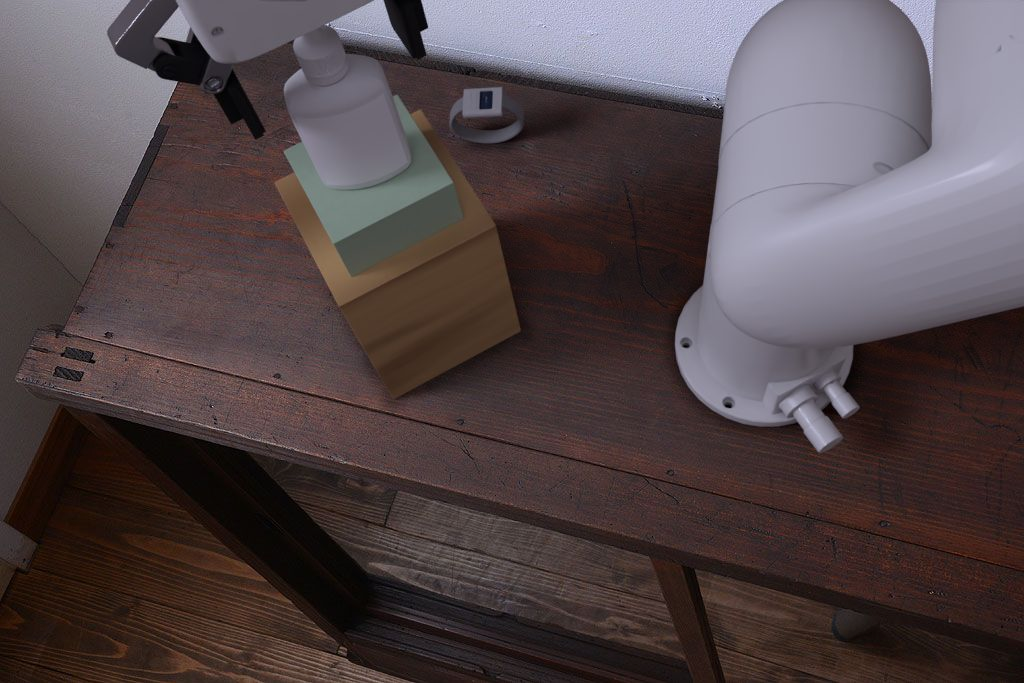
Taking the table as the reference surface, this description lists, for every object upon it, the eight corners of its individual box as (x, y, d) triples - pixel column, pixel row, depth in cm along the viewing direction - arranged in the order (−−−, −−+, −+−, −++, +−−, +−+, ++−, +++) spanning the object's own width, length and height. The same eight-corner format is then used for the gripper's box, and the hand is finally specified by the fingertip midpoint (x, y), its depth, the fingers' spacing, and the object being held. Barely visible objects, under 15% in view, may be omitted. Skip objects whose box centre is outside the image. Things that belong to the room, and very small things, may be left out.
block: (464, 219, 61) (453, 182, 58) (351, 277, 60) (333, 243, 57) (410, 133, 65) (397, 93, 61) (302, 187, 64) (282, 150, 60)
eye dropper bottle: (399, 202, 58) (345, 62, 47) (312, 188, 59) (240, 48, 48) (420, 143, 59) (373, -5, 49) (336, 130, 61) (271, -17, 50)
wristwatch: (453, 153, 82) (443, 115, 78) (455, 127, 84) (445, 88, 79) (526, 149, 82) (520, 111, 77) (527, 123, 83) (520, 84, 78)
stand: (521, 331, 74) (496, 225, 61) (393, 399, 73) (339, 306, 60) (457, 228, 79) (420, 108, 66) (336, 290, 78) (273, 181, 64)
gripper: (14, -71, 34) (207, 203, 50) (449, -267, 36) (505, 55, 52) (-34, -185, 37) (161, 105, 53) (367, -359, 39) (443, -31, 55)
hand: (331, 80), depth 52 cm, fingers open, 9 cm apart
